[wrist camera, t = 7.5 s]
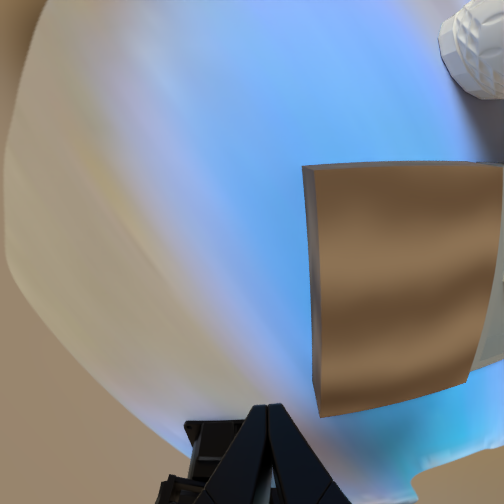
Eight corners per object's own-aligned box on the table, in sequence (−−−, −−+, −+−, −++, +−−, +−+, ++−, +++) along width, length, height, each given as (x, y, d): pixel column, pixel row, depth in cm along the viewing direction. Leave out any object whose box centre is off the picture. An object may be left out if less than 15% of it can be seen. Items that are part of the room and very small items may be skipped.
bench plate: (444, 354, 22) (465, 382, 18) (312, 381, 23) (320, 417, 19) (466, 161, 17) (502, 167, 13) (301, 166, 18) (313, 170, 14)
